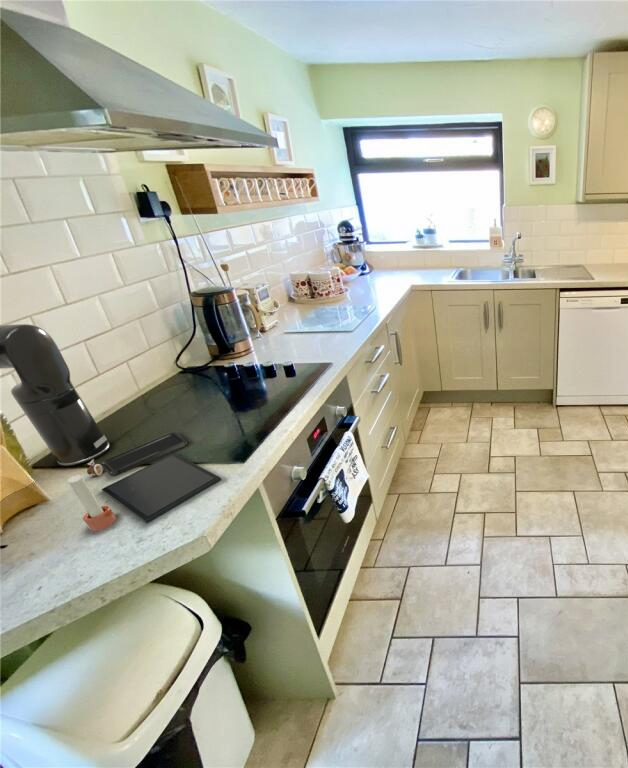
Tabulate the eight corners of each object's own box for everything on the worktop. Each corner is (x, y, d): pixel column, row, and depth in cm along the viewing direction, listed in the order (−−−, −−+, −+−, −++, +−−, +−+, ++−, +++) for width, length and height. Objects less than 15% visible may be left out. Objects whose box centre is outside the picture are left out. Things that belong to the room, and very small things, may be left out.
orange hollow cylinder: (87, 527, 80) (79, 516, 79) (111, 514, 83) (104, 503, 81) (95, 535, 78) (87, 523, 77) (120, 521, 81) (112, 509, 80)
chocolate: (96, 471, 96) (87, 457, 94) (107, 470, 96) (98, 456, 94) (87, 480, 93) (78, 466, 91) (99, 478, 94) (89, 464, 92)
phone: (100, 462, 97) (174, 431, 107) (102, 466, 97) (176, 434, 108) (110, 474, 93) (187, 440, 103) (113, 478, 93) (188, 444, 104)
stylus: (94, 524, 80) (65, 479, 74) (106, 518, 81) (78, 473, 75) (99, 528, 79) (70, 483, 73) (111, 522, 81) (83, 477, 74)
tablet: (103, 492, 89) (100, 488, 89) (175, 456, 100) (174, 452, 99) (147, 524, 80) (144, 520, 79) (222, 480, 91) (220, 477, 90)
